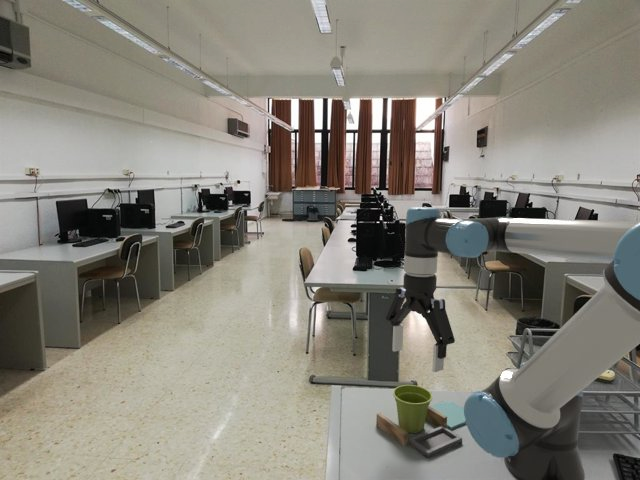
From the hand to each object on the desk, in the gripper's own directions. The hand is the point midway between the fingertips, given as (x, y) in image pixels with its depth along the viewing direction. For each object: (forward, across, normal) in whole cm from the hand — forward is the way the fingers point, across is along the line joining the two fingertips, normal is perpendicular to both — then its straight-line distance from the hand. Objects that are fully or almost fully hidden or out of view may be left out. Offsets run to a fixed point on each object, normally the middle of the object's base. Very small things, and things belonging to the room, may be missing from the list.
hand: (416, 360), depth 103 cm
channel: (+18, +1, 0) cm, 18 cm away
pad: (+18, 0, -12) cm, 22 cm away
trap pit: (+18, -7, 0) cm, 19 cm away
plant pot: (+18, +1, 0) cm, 18 cm away
